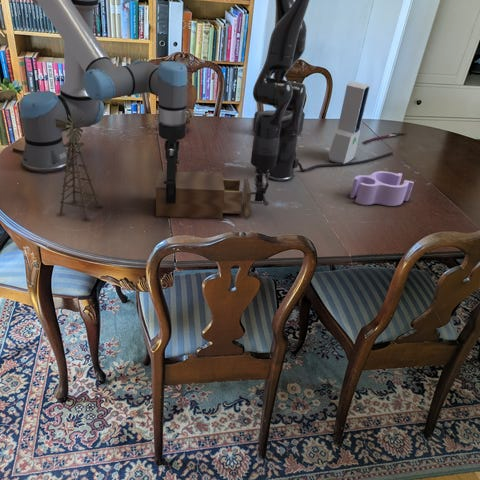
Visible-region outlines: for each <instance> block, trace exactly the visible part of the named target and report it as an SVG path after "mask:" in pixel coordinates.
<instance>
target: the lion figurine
mask: <svg viewBox="0 0 480 480" xmlns="http://www.w3.org/2000/svg"><path fill="white" fill-rule="evenodd" d="M186 111H188V112H189V114H188V115H186V122H185V124H186V125H190V124H191V122H192V121H193V120H194V118H195V110H193V109H192V108H186ZM187 132H188V130H187V129H186V133H187Z"/></svg>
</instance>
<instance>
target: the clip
mask: <svg viewBox="0 0 480 480" xmlns="http://www.w3.org/2000/svg"><path fill="white" fill-rule="evenodd" d="M402 178H403V173H402V172H398V173H396V172H392V171H385V170H377V171H374V172H372V173H371V174H368V175H367V174H359V175H355V177H353V182H352V186H351V191H350V194H349V198H350V199H354V198H355V197H356V198H355V203H356V204H358V205H362V206H363V205H364V206H369V205H370V206H371V205H373V204H377V205H383V206H387V207H388V206H389V207H396V206H400V205H402V204H403V202H404V201H405V202H409V199H410V196H411V193H412V191H413V190H412V189H413V186H414V184H415V182H414V181H412V180H408V179H403V183H402V184H401V181H402Z"/></svg>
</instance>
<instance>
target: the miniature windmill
mask: <svg viewBox="0 0 480 480" xmlns="http://www.w3.org/2000/svg"><path fill="white" fill-rule="evenodd" d="M78 112H79V109H78ZM70 113H71V111H70ZM80 114H81V112H80ZM80 114H79V116H80ZM71 116H72V113H71ZM73 116H75V118H74V120H73ZM73 116H72V118H70V116H69V114H68V117H69V119H70V121H71V122H72V123H74V122H76V121H78V119H79V117H78V119H77V118H76V116H78V113H77V115H76V111H75V115H74V109H73ZM82 117H83V115H82V116H81V118H82ZM81 118H80V119H79V121H80V120H81ZM72 120H73V121H72ZM55 121H56V127H59V128H65V127H66V128H68V127H69V129H67V130H66V131H65V133H66V138H67V140H68V141H67V142H66V143H64V145H63V146H64V147H66V148H67V151H68V153H67V154H66V155H67V161H66V168H65V169H63V170H64V177H63V184H62V192H61V193H60V195H61V200H60V201H59V204H60V208H59V215H63V211H64V205H68V206H73V207H79V208H82V210H83V216H84V220H88V214H87V207H88V206H89V205H90V204H91V203H92V202H93V201H95V204H96V207H98V208H99V207H100V203H99V200H98V194H96V192H95V191H96V190H95V188H94V185H93V183H92V179H91V176H90V174H89V172H88V168H87V165H86V162H85V159H84V157H83V151H81V148H82V147H84V146H85V145H86V143H84V141H83V142H81V141H80V140H81V137H82V136H83V135H82V133H83V132H84V130H83V129H82V128H84V127H83V126H84V125H79V124H81V123H83V120H82V121H81V122H79V121H78V122H79V123H78V122H76V123H77V128H76V129H73V127H75V125H74V124H72V123H71V122H70V121H68V120H67V122H68V123H69V124H68V125H67V123H66V122H64V121H61V120H58V119H55ZM78 127H82V128H78ZM79 141H80V142H79ZM69 157H70V159H69ZM79 157H80V160H81V163H82V164H79V162H78V158H79ZM70 160H71V164H70V165H69V166H68V164H69V161H70ZM80 167H82V168H81V169H80ZM75 168H76V170H75ZM79 169H80V170H79ZM83 171H84V172H85V175H86V178H84V177H81V173H82V172H83ZM75 174H77V176H76V175H75ZM70 176H72V178H70V179H69V180H67V178H68V177H70ZM76 179H77V180H78V186H76ZM82 180H83V181H87V182H86V183H85V184H84V185H82ZM71 182H72V184H71V185H68V184H69V183H71ZM88 185H89V186H90V190H91V192H92V193H88V192H84V191H83V189H84V188H85V187H87V186H88ZM71 188H72V191H71V192H70V193H68V194H67V195H65V194H66V192H67V191H68V190H70V189H71ZM77 190H79V191H77ZM76 194H80V198H81V204H82V205H81V204H76ZM71 195H72V203H71V202H65V200H66V199H67V198H69V197H70V196H71ZM84 195H85V196H92V198H91V200H89V201H88V202H87V203H85V197H84Z"/></svg>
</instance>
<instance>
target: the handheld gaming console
mask: <svg viewBox="0 0 480 480" xmlns="http://www.w3.org/2000/svg"><path fill="white" fill-rule="evenodd" d="M275 110H276V109H275ZM275 110H273V109H272V110H257V111H255V113H254V116H253V124H252V132H253V134H255V129H256V120H257V116H258V114H259V113H262V112H272V111H275ZM291 114H292V112H291V111H285V113H284V116H283V117H285V116H289V115H291ZM305 115H306V114H305V112H304V111H303V110H302V114H301V119H300V125H299V131H298V134H301V133H302V132H303V128H304V122H305V121H304V120H305Z"/></svg>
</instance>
